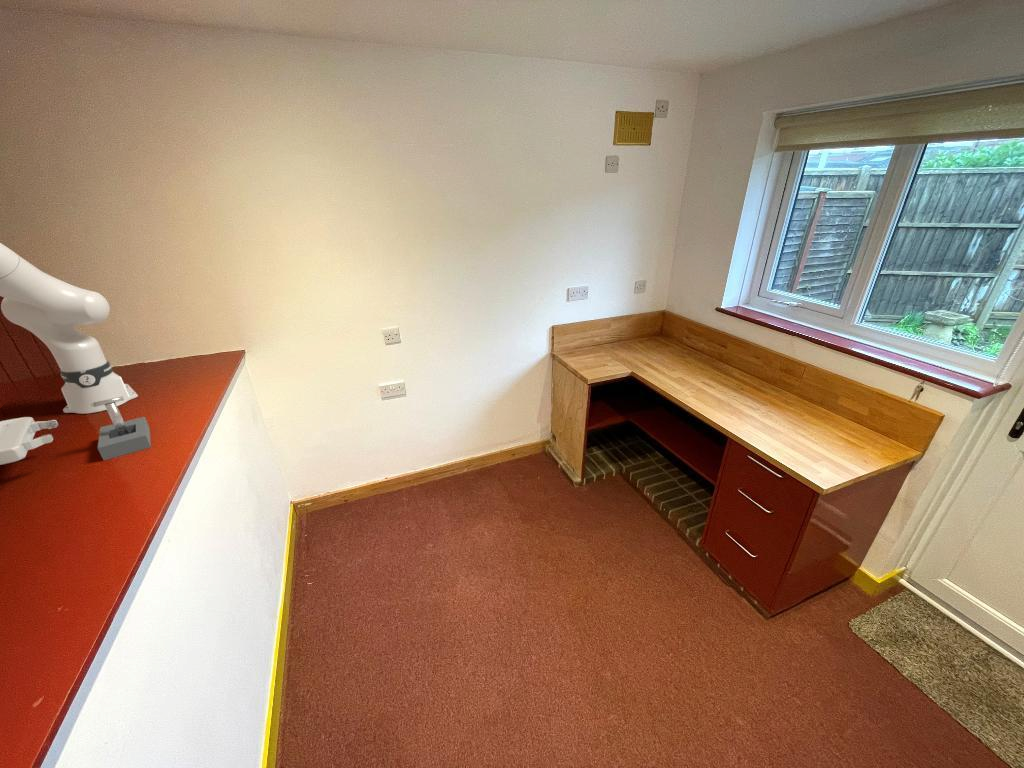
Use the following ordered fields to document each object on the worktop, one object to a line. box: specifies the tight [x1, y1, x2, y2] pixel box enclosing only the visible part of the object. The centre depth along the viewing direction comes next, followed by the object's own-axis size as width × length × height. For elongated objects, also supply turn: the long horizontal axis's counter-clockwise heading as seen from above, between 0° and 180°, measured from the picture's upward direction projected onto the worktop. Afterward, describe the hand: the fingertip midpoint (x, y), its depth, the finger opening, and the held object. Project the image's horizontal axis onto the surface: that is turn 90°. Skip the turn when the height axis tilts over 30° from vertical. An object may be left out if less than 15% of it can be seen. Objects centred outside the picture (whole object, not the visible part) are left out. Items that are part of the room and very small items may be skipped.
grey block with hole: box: [97, 416, 152, 461], centre depth 119 cm, size 14×10×4 cm
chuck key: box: [91, 396, 129, 436], centre depth 117 cm, size 4×7×14 cm
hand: (54, 430), depth 109 cm, fingers open, 8 cm apart
